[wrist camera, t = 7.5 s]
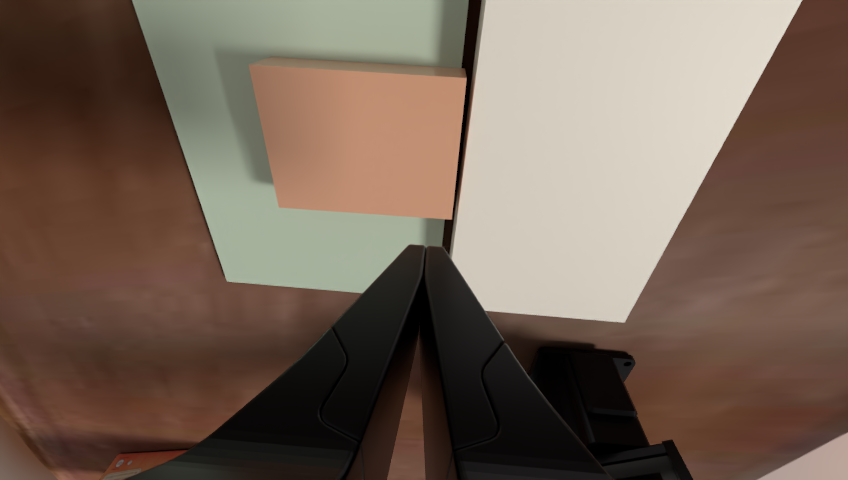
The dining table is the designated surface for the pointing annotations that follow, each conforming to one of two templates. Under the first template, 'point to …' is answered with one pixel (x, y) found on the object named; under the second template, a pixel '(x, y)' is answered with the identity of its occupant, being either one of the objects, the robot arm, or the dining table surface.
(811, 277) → the dining table surface
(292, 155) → the tile
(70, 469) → the dining table surface
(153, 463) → the cracker box
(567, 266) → the deck
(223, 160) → the mat
